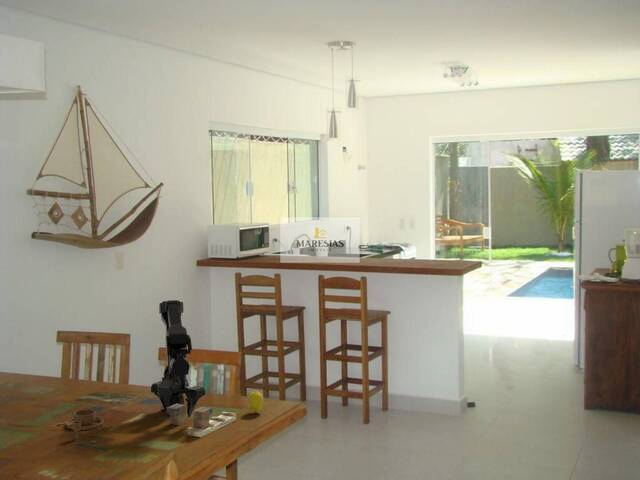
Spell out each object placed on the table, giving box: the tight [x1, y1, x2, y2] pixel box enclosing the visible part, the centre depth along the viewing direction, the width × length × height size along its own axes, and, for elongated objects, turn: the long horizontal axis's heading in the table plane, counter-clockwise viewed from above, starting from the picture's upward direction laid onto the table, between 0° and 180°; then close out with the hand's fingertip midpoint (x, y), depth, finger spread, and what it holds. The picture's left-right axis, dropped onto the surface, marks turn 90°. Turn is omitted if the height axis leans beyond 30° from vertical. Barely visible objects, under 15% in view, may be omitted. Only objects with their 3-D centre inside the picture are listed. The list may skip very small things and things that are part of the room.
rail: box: [187, 406, 237, 438], centre depth 252 cm, size 5×20×8 cm, turn 154°
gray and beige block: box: [166, 404, 187, 426], centre depth 255 cm, size 4×5×6 cm, turn 153°
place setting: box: [58, 409, 104, 440], centre depth 250 cm, size 18×20×6 cm
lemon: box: [247, 390, 265, 414], centre depth 268 cm, size 6×6×8 cm
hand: (177, 414), depth 256 cm, fingers open, 9 cm apart
